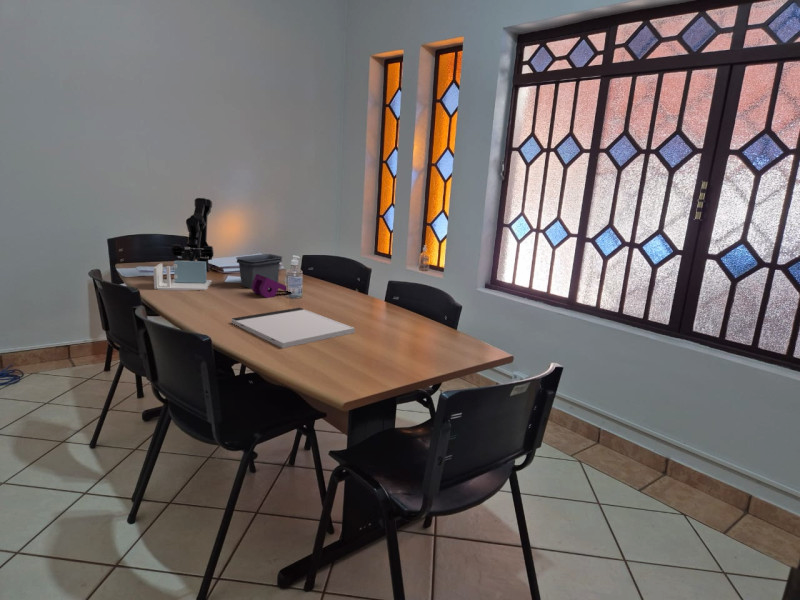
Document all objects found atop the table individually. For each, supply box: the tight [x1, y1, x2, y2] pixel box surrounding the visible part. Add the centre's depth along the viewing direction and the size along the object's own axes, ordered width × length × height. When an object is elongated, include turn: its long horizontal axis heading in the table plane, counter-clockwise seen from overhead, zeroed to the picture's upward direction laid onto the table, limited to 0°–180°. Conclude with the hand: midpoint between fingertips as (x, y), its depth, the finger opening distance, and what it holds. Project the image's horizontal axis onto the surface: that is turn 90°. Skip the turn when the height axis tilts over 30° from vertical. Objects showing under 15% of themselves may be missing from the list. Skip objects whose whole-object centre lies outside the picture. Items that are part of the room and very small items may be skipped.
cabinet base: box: [152, 262, 213, 291], centre depth 251 cm, size 19×22×10 cm
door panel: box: [173, 260, 208, 283], centre depth 253 cm, size 4×14×10 cm, turn 101°
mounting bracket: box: [251, 274, 287, 299], centre depth 247 cm, size 9×8×18 cm
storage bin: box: [235, 253, 284, 290], centre depth 262 cm, size 21×16×14 cm
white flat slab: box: [230, 307, 356, 349], centre depth 199 cm, size 35×2×31 cm
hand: (190, 264), depth 254 cm, fingers closed, pressing on door panel
